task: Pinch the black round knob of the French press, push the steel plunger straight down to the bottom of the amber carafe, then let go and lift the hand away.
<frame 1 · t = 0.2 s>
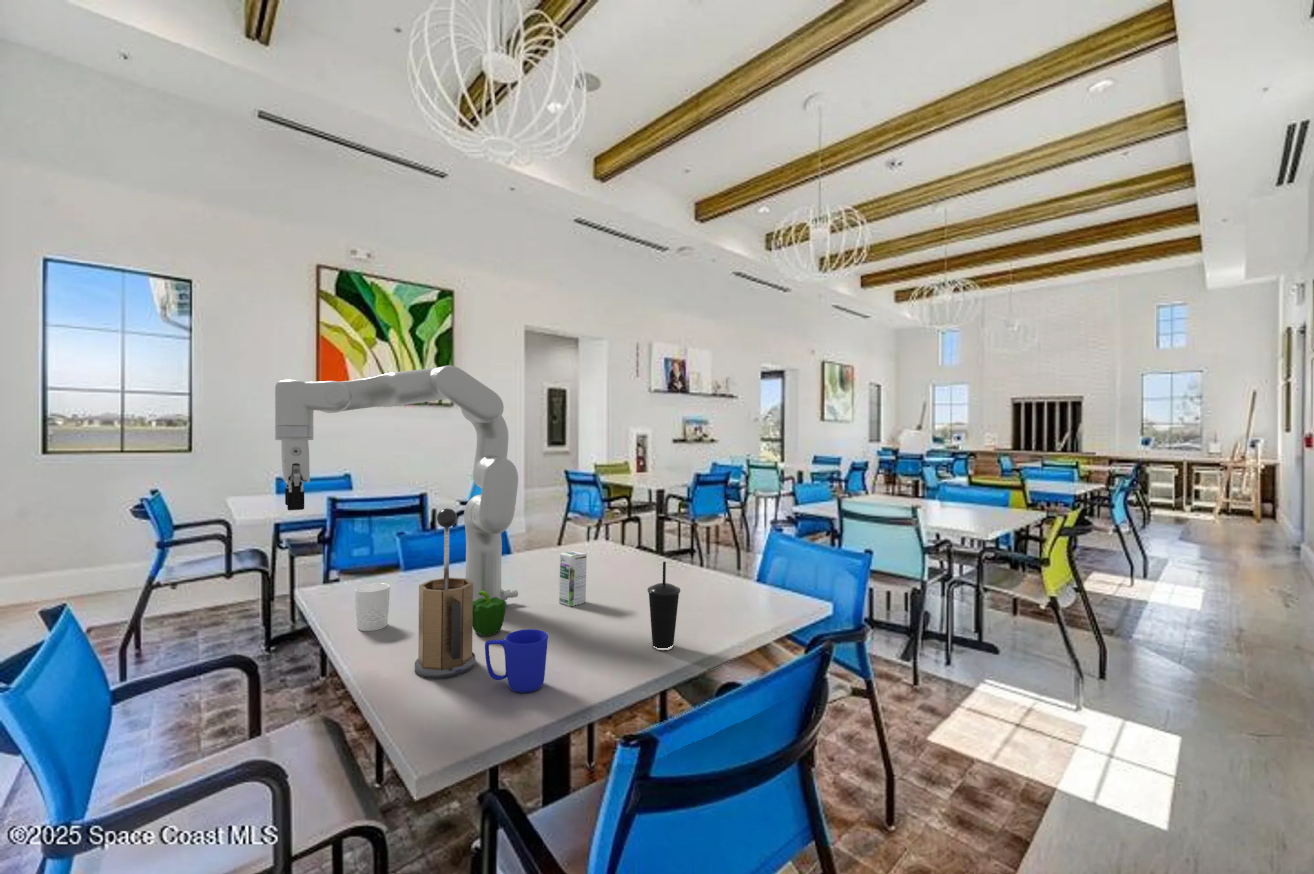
hand: (294, 507, 133), 31 cm above the table, tool pointing down, fingers open, 9 cm apart
drinking cup: (662, 647, 133), on the table
carafe: (445, 666, 120), on the table
syrup box: (572, 603, 165), on the table
white cup: (372, 627, 143), on the table
plunger: (446, 552, 120), point 24 cm above the table, slide at 0.0 cm
bell pepper: (487, 632, 141), on the table
mug: (516, 688, 112), on the table
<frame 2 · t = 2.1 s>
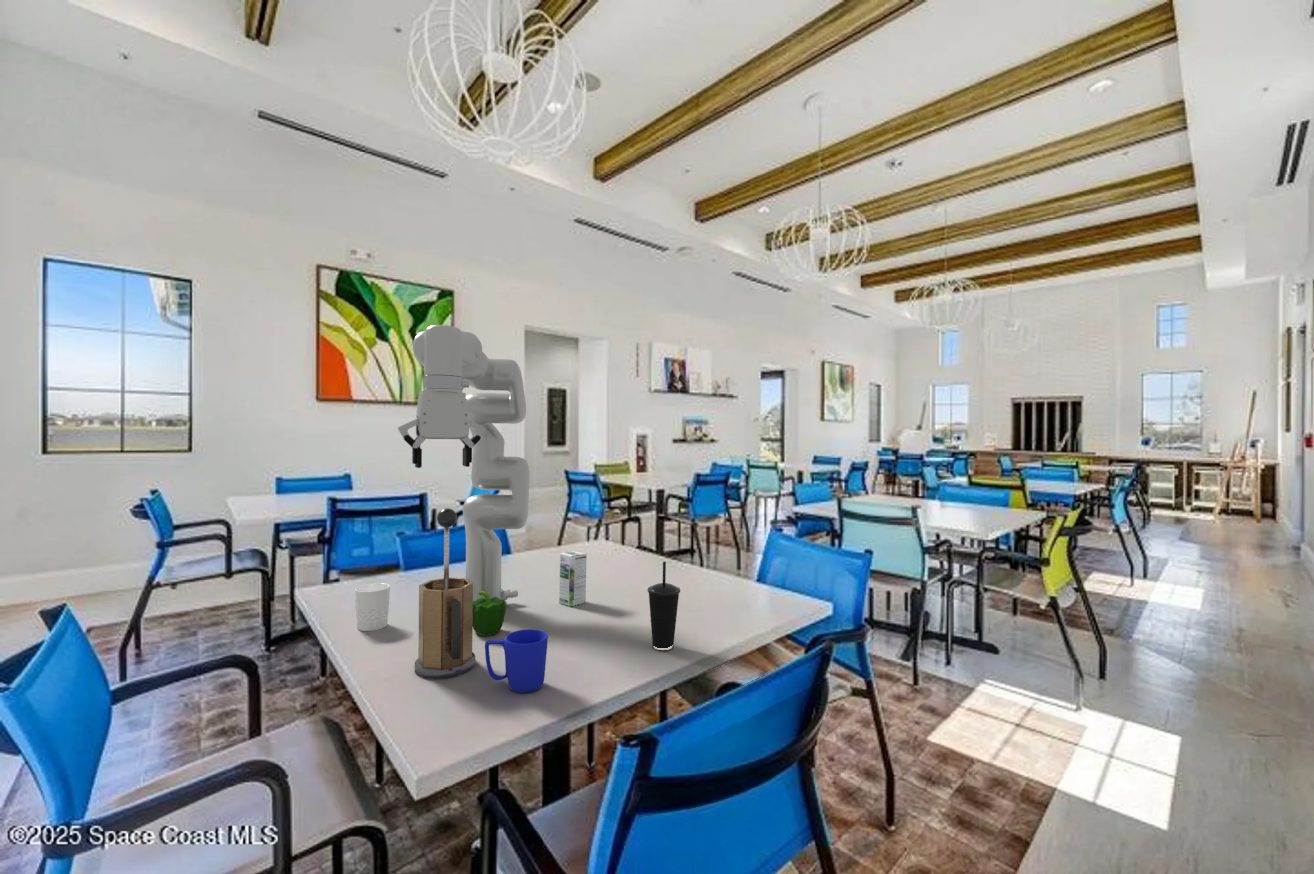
hand: (442, 466, 120), 42 cm above the table, tool pointing down, fingers open, 9 cm apart
nothing on the table moved.
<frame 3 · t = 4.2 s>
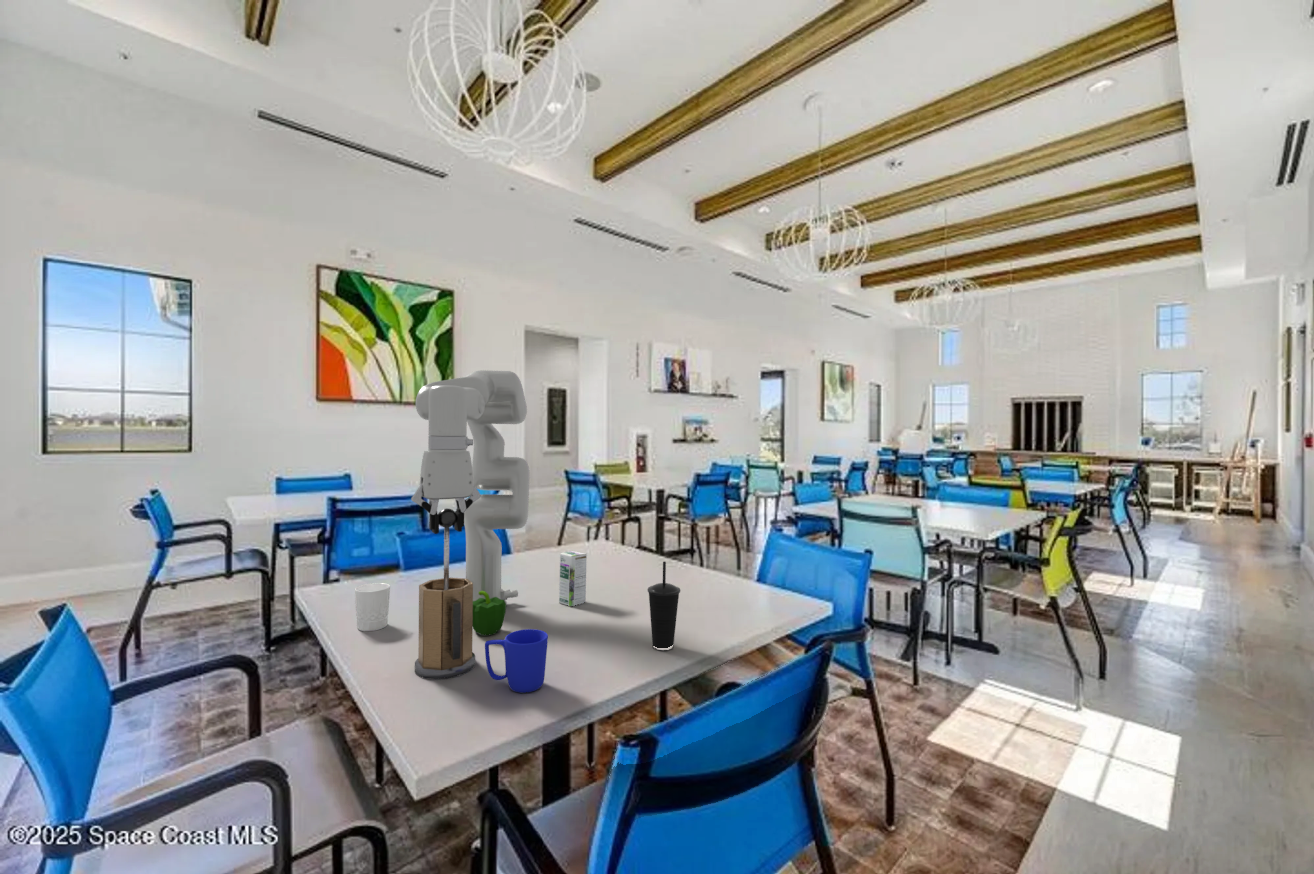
hand: (446, 530, 120), 29 cm above the table, tool pointing down, fingers closed on plunger, 4 cm apart
plunger: (446, 552, 120), point 24 cm above the table, slide at 0.0 cm, touching gripper
everything else where it was.
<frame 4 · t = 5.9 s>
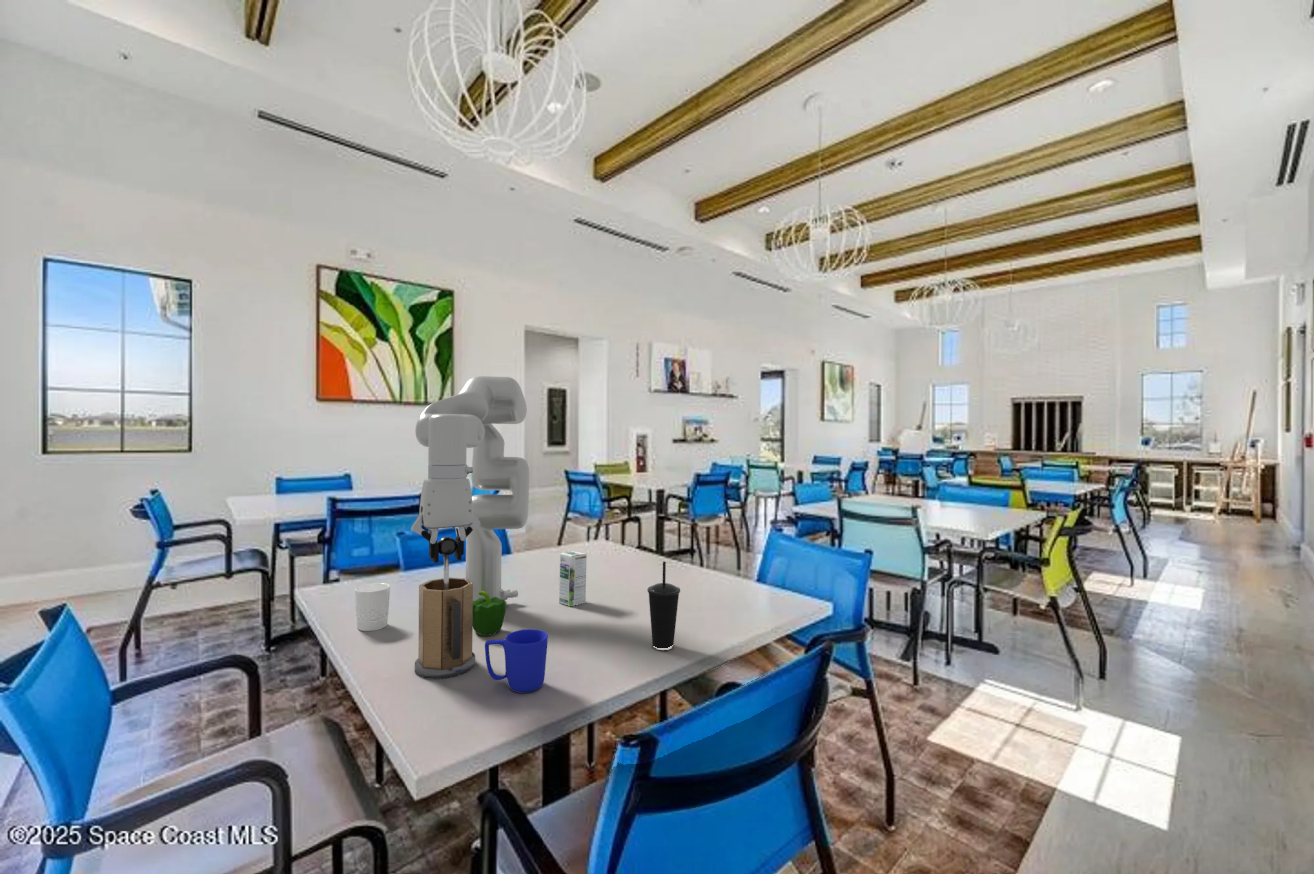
hand: (446, 559, 120), 23 cm above the table, tool pointing down, fingers closed on plunger, 4 cm apart
plunger: (446, 580, 120), point 18 cm above the table, slide at 6.0 cm, touching gripper
everything else where it was.
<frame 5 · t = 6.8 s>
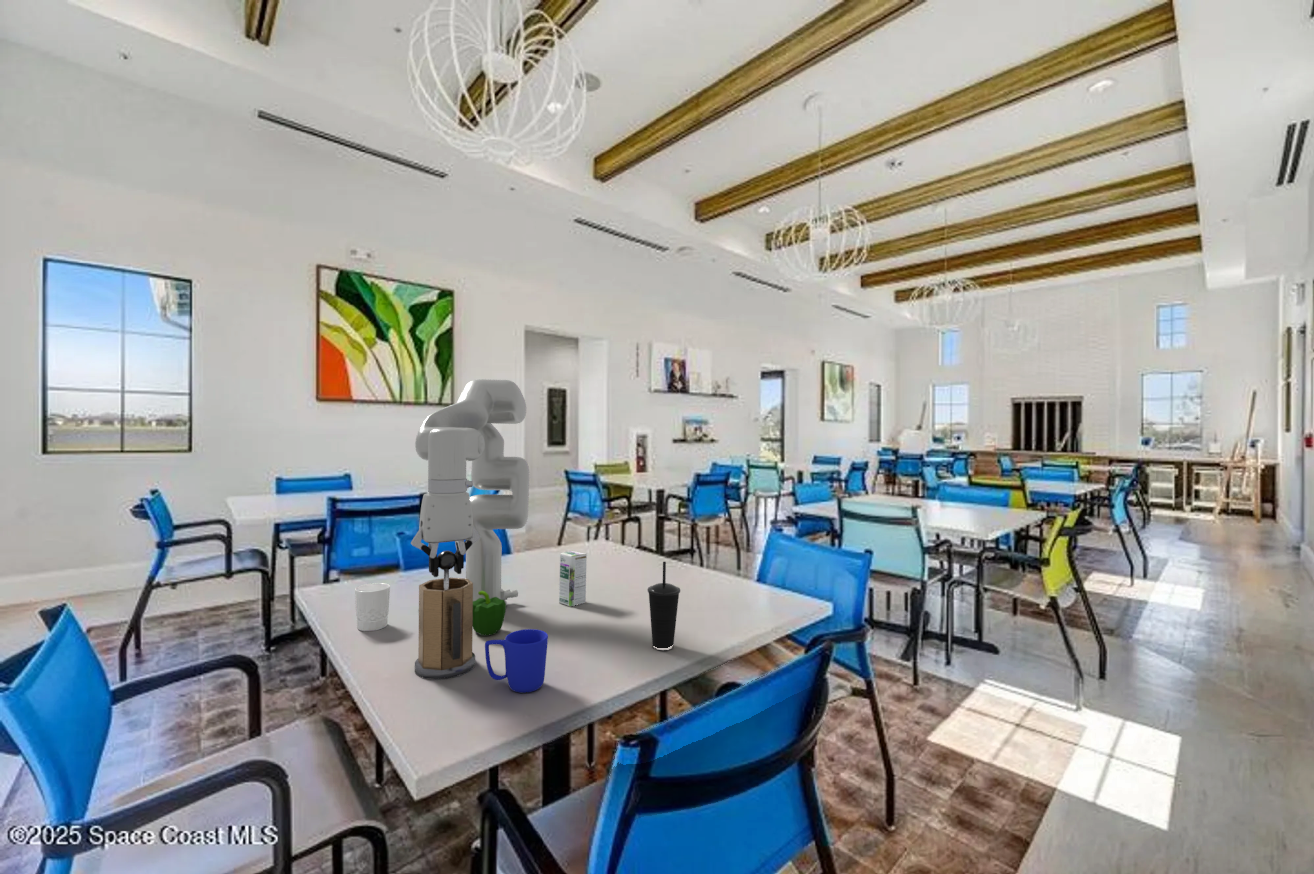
hand: (446, 573, 120), 20 cm above the table, tool pointing down, fingers closed on plunger, 4 cm apart
plunger: (446, 594, 120), point 15 cm above the table, slide at 9.0 cm, touching gripper
everything else where it was.
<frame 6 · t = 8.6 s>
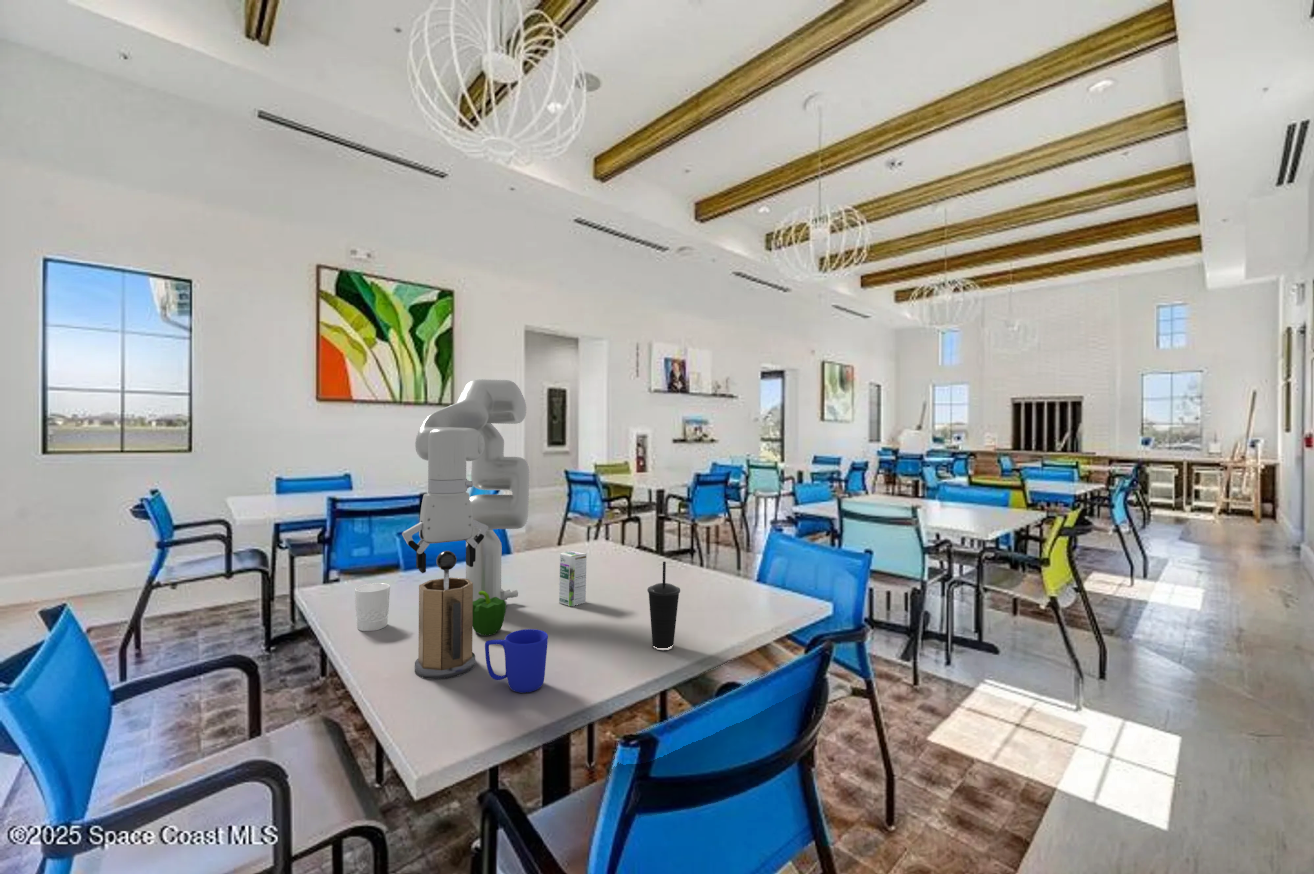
hand: (446, 568, 120), 21 cm above the table, tool pointing down, fingers open, 9 cm apart
plunger: (446, 594, 120), point 15 cm above the table, slide at 9.0 cm
everything else where it was.
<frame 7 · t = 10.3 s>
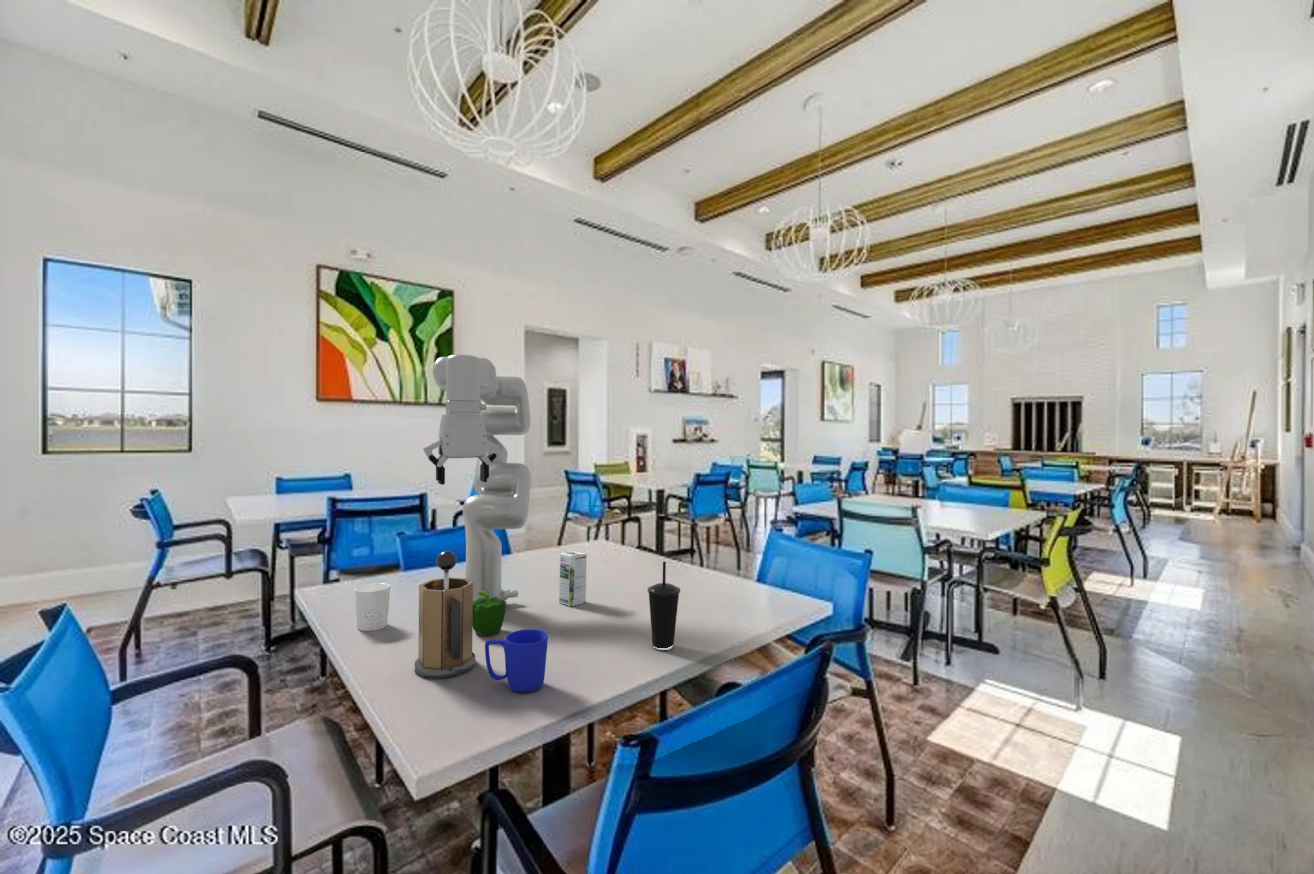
hand: (462, 482, 132), 38 cm above the table, tool pointing down, fingers open, 9 cm apart
nothing on the table moved.
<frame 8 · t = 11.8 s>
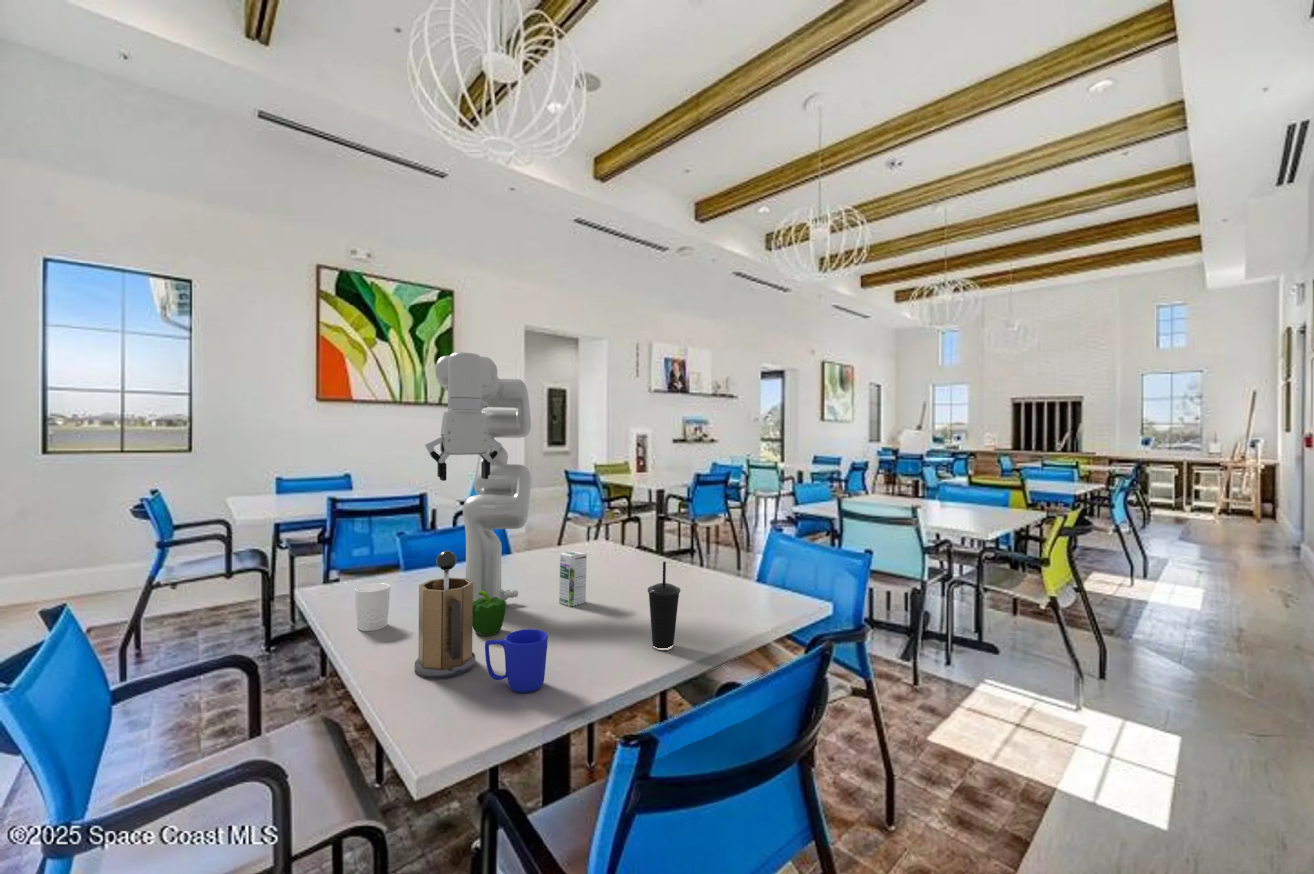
hand: (464, 479, 134), 38 cm above the table, tool pointing down, fingers open, 9 cm apart
nothing on the table moved.
at the end: plunger slide at 9.0 cm; the gripper is holding nothing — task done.
